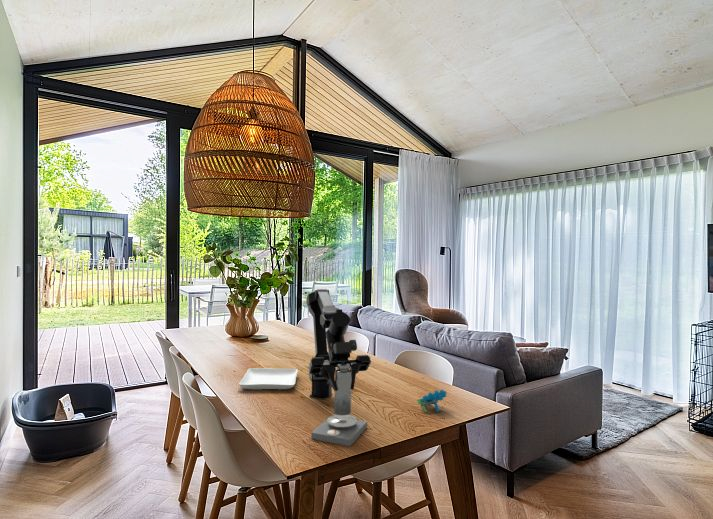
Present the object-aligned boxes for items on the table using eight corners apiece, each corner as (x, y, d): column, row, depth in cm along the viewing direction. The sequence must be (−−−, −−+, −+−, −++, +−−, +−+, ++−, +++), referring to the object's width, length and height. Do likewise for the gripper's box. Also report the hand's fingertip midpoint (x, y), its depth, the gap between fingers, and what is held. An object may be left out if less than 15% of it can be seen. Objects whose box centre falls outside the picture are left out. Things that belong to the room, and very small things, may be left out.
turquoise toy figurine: (440, 398, 156) (448, 385, 149) (447, 414, 153) (455, 401, 145) (412, 405, 153) (419, 392, 146) (419, 421, 149) (426, 409, 142)
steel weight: (330, 411, 131) (332, 364, 130) (343, 407, 134) (344, 361, 134) (341, 416, 127) (342, 367, 126) (354, 412, 130) (355, 365, 130)
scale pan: (322, 424, 128) (322, 422, 128) (334, 413, 136) (334, 412, 136) (350, 429, 125) (350, 427, 125) (361, 418, 133) (361, 416, 133)
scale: (311, 438, 125) (311, 430, 125) (331, 420, 138) (331, 413, 138) (350, 446, 120) (350, 438, 120) (366, 427, 134) (367, 420, 134)
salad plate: (294, 392, 164) (294, 383, 164) (238, 392, 163) (238, 383, 163) (298, 376, 186) (298, 368, 185) (248, 376, 184) (248, 368, 184)
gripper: (311, 331, 131) (317, 378, 121) (370, 329, 136) (380, 374, 126) (306, 350, 139) (311, 396, 129) (361, 348, 144) (371, 392, 134)
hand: (344, 389), depth 129 cm, fingers closed on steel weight, 5 cm apart
